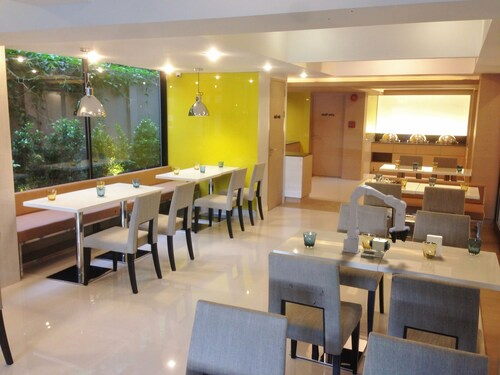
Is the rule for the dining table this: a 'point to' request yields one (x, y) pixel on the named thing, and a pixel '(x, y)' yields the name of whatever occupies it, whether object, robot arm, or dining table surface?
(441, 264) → the dining table surface
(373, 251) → the guide rails
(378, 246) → the pneumatic valve
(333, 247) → the dining table surface
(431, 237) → the base with upright slab
